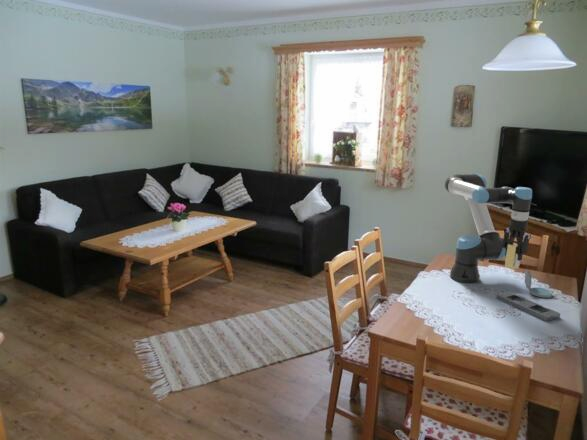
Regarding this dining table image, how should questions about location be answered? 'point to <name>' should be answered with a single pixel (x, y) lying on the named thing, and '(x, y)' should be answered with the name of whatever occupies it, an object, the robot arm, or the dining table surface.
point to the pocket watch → (536, 291)
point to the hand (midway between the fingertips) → (512, 264)
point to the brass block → (511, 256)
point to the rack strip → (528, 306)
